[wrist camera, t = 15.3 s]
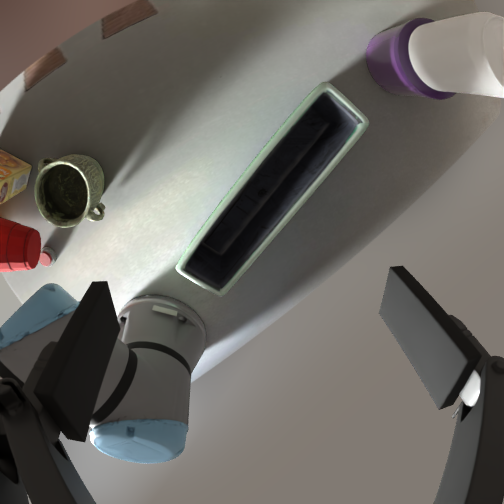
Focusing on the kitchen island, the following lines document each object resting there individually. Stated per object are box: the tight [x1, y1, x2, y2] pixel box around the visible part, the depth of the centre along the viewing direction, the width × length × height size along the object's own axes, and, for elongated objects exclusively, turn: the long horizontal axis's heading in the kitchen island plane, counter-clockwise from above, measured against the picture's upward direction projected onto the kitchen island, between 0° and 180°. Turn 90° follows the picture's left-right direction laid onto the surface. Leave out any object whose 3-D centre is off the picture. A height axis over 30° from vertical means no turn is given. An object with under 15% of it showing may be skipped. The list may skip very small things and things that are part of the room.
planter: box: [176, 82, 369, 296], centre depth 37 cm, size 28×7×7 cm, turn 142°
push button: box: [39, 247, 56, 267], centre depth 41 cm, size 3×3×2 cm
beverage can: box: [408, 12, 504, 98], centre depth 20 cm, size 8×8×12 cm
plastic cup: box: [0, 217, 41, 272], centre depth 36 cm, size 11×11×12 cm
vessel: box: [34, 154, 105, 228], centre depth 35 cm, size 12×9×6 cm
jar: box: [366, 18, 456, 100], centre depth 29 cm, size 10×10×9 cm
